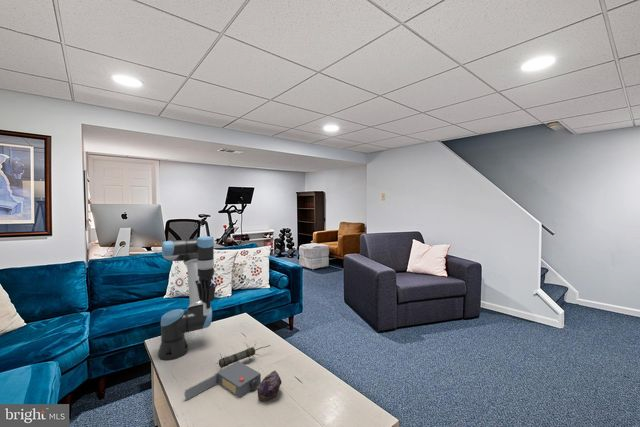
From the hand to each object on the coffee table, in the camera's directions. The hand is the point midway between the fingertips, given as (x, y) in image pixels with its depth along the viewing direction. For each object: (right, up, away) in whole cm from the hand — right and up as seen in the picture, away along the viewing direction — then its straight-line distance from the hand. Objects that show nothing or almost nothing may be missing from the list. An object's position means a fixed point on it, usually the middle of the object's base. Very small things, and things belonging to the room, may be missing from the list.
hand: (206, 314), depth 139 cm
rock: (+35, -30, -15) cm, 49 cm away
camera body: (+18, -30, -8) cm, 36 cm away
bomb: (+17, -29, +9) cm, 35 cm away
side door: (+3, -30, -13) cm, 33 cm away
